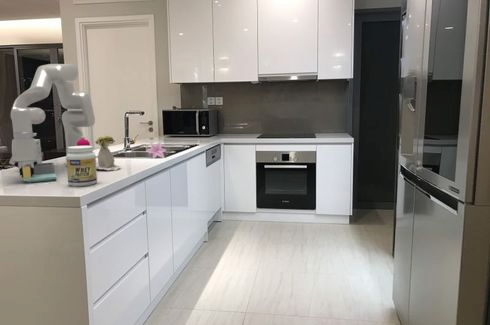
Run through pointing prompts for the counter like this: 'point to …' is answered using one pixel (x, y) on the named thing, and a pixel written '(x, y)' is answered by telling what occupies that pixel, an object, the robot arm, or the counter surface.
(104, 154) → the potted plant
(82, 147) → the supplement tub
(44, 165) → the tub
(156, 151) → the lily
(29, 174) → the lid
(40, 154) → the supplement box
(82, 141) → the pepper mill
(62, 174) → the counter surface
